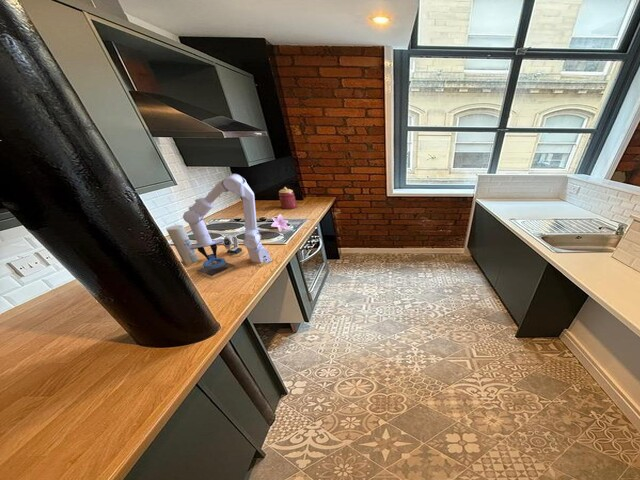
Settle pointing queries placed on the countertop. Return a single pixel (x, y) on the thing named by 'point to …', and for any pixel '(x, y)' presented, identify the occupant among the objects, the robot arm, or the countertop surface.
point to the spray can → (182, 243)
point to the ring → (212, 258)
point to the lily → (280, 223)
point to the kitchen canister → (287, 198)
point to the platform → (216, 270)
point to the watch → (228, 244)
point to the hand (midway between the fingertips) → (212, 259)
